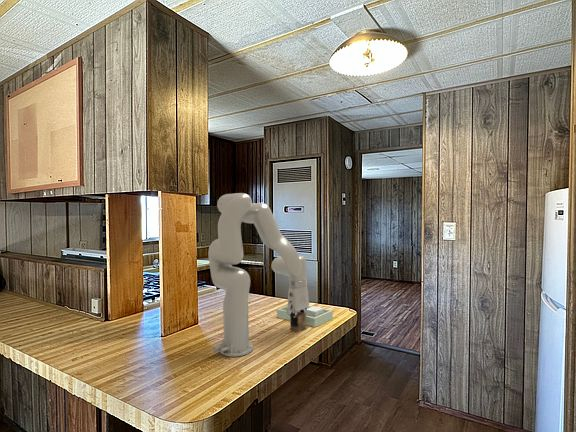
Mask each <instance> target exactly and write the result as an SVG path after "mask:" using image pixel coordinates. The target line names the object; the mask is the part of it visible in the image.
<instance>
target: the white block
mask: <svg viewBox="0 0 576 432" xmlns="http://www.w3.org/2000/svg"><path fill="white" fill-rule="evenodd" d="M312 306H313V307H310V308H308V309H307V310H306V316H310V317H317V316H319V315H321V314H323V313H324V309H325V308H324V307H320V306H314V305H312Z"/></svg>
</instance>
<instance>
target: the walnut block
mask: <svg viewBox="0 0 576 432" xmlns="http://www.w3.org/2000/svg"><path fill="white" fill-rule="evenodd" d="M296 317H297V327H295V326H292V325H291V317H290V321H289V323H290V325H289V327H290V331H293V332H294V331H295V332H297V333H300V331H301V332H303V331H305V330H307V325H306V313H302V312H298V311H297V316H296Z"/></svg>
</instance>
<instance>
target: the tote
mask: <svg viewBox="0 0 576 432" xmlns="http://www.w3.org/2000/svg"><path fill="white" fill-rule="evenodd" d="M313 306H314V305H309V306H308V307H307V309H308V308H310V307H313ZM287 309H288V305H285V306H282V307H280V308H277V309H276V317H277V319H283V320H284V321H289V322H290V315H289V314H288V313H287V312H286V311H287ZM333 319H334V317H333V309H327V308H324V313H323V314H321V315H319V316H317V317H310V316H306V326H307V327H308V326H309V327H313V328H317V327H319V326H321V325H323V324H325V323H327V322H329V321H331V320H333ZM316 326H317V327H316Z"/></svg>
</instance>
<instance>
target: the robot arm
mask: <svg viewBox="0 0 576 432" xmlns="http://www.w3.org/2000/svg"><path fill="white" fill-rule="evenodd" d="M216 207H217V209H218V212H220V213H221V215H220V216H219V219H218V223H217V235H218V237H217V238H216V239H214V240H213V241H212V242H211V243H210V245H209V248H208V250H207V251H208V253H207V255H208V263H209V269H210V277H211V280H212V281H211V282H212V284H213V285H214V286H215V287H217V289H221V290H222V291H225V295H224V298H223V302H222V303H223V304H222V311H223V312H222V316H223V317H222V319H223V320H222V322H223V327H222V328H223V339H221V343H219V344H218V345H215V346H213V348H212V350H213V352H214V353H218V352H219V353H220V354H221V355H223V356H226V357H231V358H232V357H236V358H237V357H242V356H246V355H248V354H250V353H251V352H252V351H253V350H254V345H253V343H252V342H250V339H249V338H250V337H249V336H250V335H249V333H250V332H249V329H250V328H249V327H250V325H249V296H250V295H249V294H250V287H251V277H250V274H249V272H248V271H246V270H245V269H243V268H240V267H238V266H234V265H238V264H240V263H242V260H243V258H244V247H243V245H244V244H243V240H242V228H241V227H242V223H246V224H253V225H254V227H255V229H256V231H257V233H258V235H259V238H260V240H261V242H262V243H263V244H264V245H265V246H267V247H268V248H269V249H271V250H272V251H275V253H276V254H278V255H279V256H278V257H276V258H274V259H273V260H272V262H271V270H272V271H273V272H274V273H275V274H278V275H283V276H286V277H287V276H288V281H289V283H288V285H289V287H288V293H287V306H288V309H287V311H286V312H287V313H288V314H289V315H290V317H291V325H292V326H295V327H297V317H296V316H297V311H300V312H302V313H306V310H307V307H308V306H310V302H309V301H310V299H309V298H310V297H309V290H308V285H307V286H306V279H307V261H306V260H307V259H306V257H305V256H303V255H299V253H298V251H297V250H296V248H295V247H294V246H293V244H292V243H291V242H290V241H289V240H288V239H287V238H286V237H285V236H284V235H283V234H282V233H281V230H280V227H279V226H278V224H277V221H276V219H275V216H274V214H273V212H272V209H271V208H270V207H269V205H268V204H266V203H263V202H258V203H255V202H254V203H253V201H252V198H251V196H250V195H249V194H247V193H244V192H238V193H237V192H235V193H225V194H223V195H222V196H220V197H219V199H217V204H216ZM293 311H294V313H293Z"/></svg>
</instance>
